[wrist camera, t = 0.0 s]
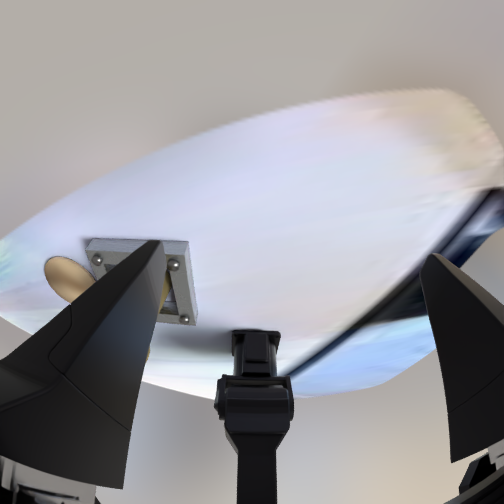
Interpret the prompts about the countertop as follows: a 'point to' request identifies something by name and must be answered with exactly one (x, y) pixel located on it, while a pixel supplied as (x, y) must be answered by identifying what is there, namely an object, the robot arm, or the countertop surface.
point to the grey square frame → (178, 262)
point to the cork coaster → (67, 278)
